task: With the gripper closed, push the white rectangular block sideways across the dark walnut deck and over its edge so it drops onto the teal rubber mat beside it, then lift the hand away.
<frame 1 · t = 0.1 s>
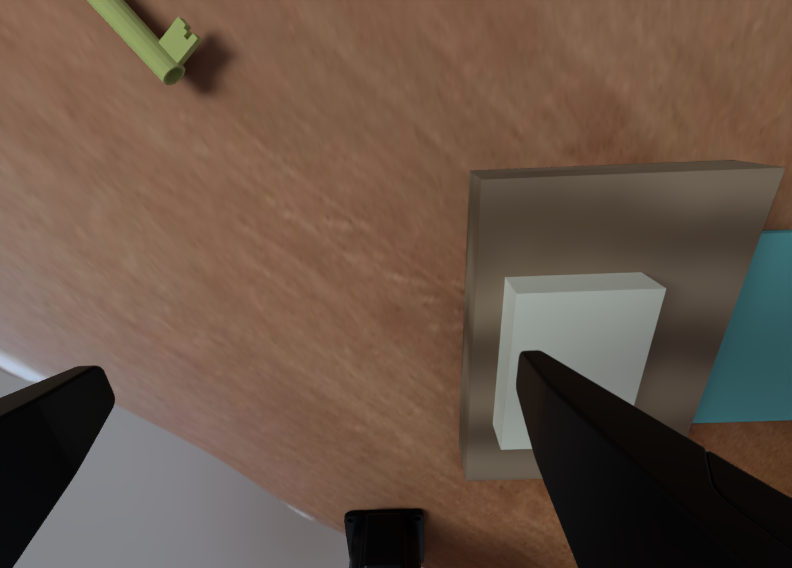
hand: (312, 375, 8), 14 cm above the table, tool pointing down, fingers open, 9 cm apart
white rectangular block: (559, 355, 22), point 3 cm above the table, touching walnut deck
teal mat: (771, 333, 25), on the table
walnut deck: (572, 327, 25), on the table
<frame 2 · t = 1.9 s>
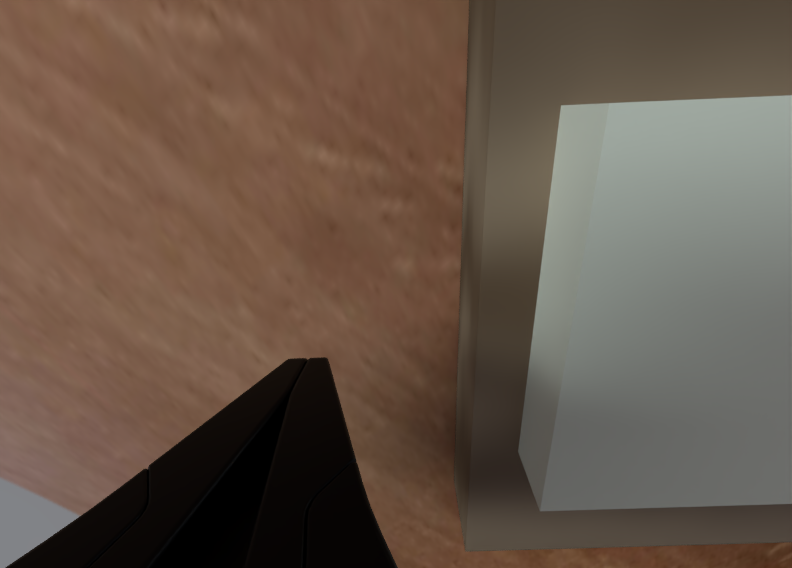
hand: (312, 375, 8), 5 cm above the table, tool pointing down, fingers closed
white rectangular block: (668, 308, 10), point 3 cm above the table, touching walnut deck
walnut deck: (669, 264, 13), on the table
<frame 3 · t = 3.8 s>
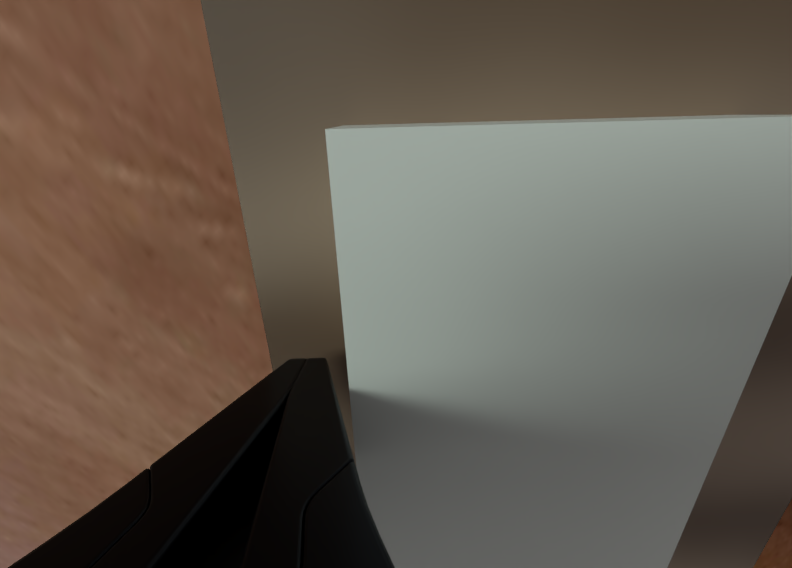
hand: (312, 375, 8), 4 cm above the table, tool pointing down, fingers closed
white rectangular block: (511, 354, 9), point 3 cm above the table, touching gripper, walnut deck
walnut deck: (530, 296, 12), on the table
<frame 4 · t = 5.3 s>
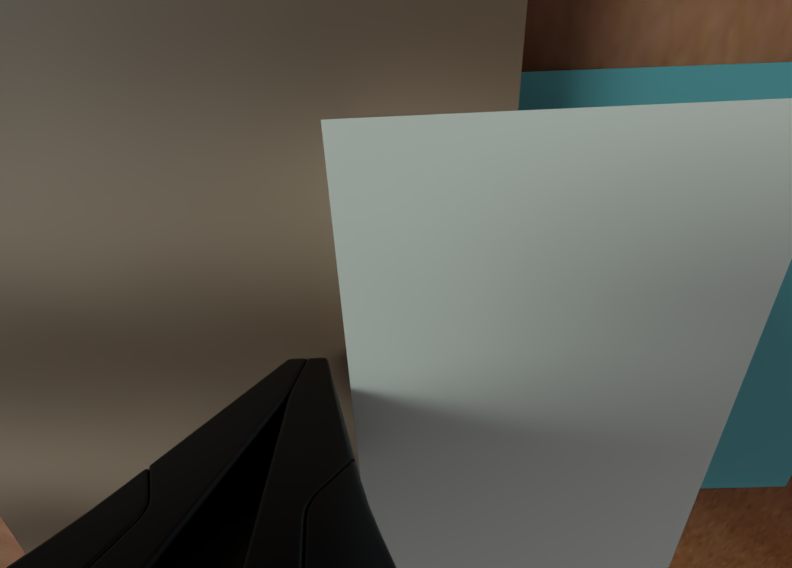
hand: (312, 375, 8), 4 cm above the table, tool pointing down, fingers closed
white rectangular block: (512, 347, 9), point 3 cm above the table, touching walnut deck
teal mat: (662, 321, 12), on the table
walnut deck: (244, 305, 12), on the table
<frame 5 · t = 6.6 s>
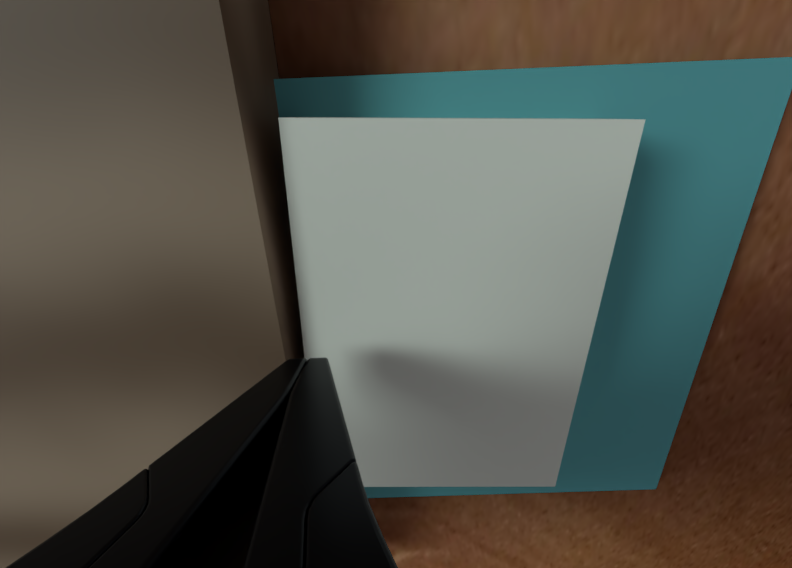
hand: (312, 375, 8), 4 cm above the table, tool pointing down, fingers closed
white rectangular block: (438, 305, 11), resting on teal mat
teal mat: (506, 324, 12), on the table
walnut deck: (83, 311, 12), on the table
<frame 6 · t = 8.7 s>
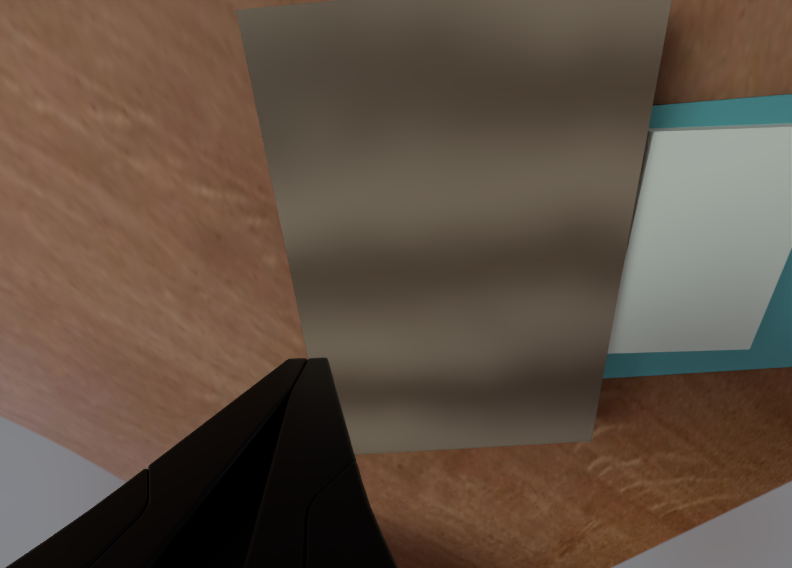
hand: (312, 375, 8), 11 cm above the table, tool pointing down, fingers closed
white rectangular block: (676, 239, 18), resting on teal mat
teal mat: (709, 253, 19), on the table
walnut deck: (447, 253, 19), on the table
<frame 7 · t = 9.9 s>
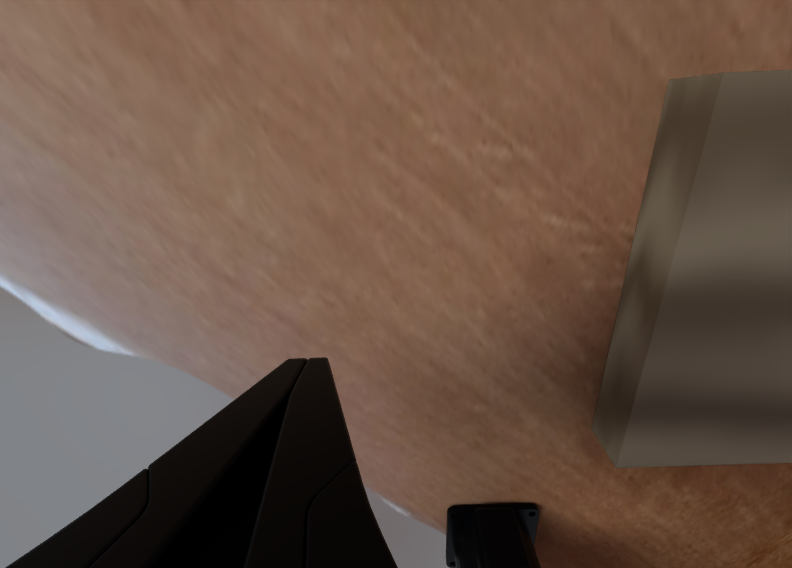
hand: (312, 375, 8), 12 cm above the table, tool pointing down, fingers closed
walnut deck: (753, 283, 21), on the table
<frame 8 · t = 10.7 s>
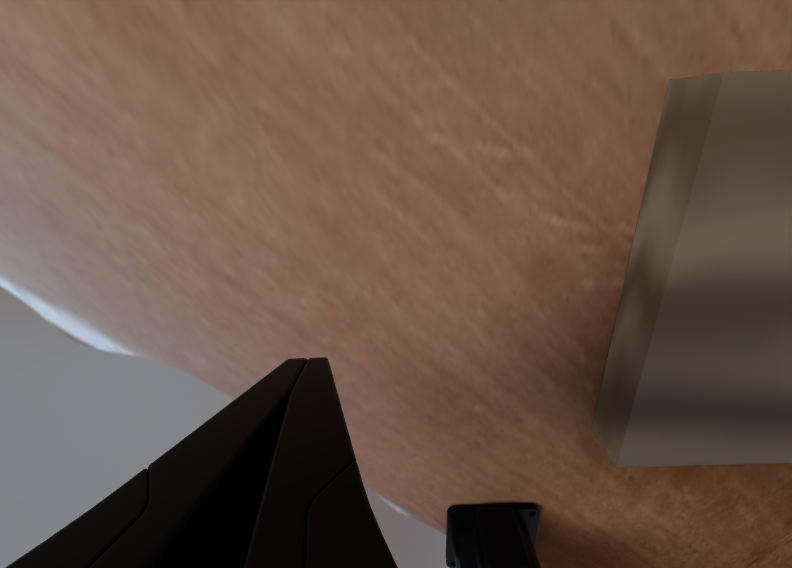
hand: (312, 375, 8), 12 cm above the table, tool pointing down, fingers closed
walnut deck: (753, 283, 21), on the table
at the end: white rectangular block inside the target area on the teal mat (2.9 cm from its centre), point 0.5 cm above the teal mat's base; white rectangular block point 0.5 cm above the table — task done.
